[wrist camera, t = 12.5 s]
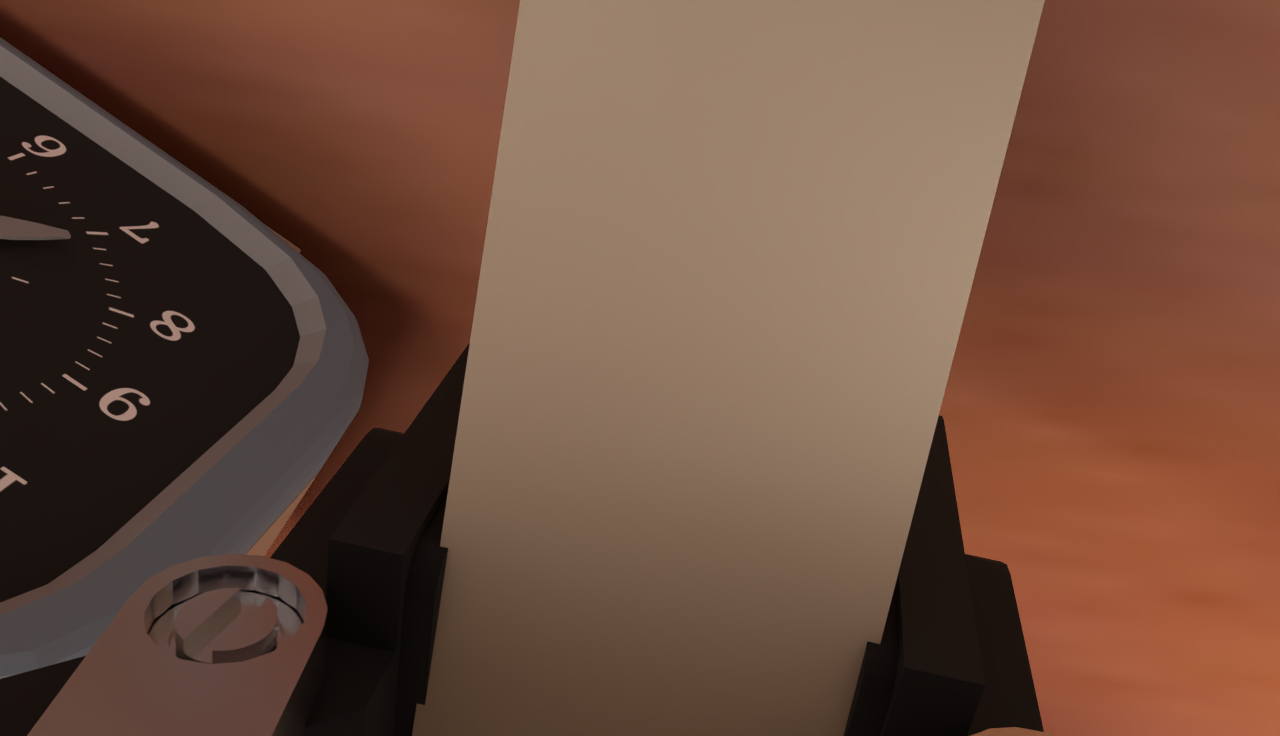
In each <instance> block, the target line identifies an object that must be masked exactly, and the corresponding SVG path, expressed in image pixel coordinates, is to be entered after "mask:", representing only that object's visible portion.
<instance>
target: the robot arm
mask: <svg viewBox="0 0 1280 736" xmlns="http://www.w3.org/2000/svg"><path fill="white" fill-rule="evenodd" d="M469 345H470V343H469V344H468V346H467V347H466V349H465V350H464V351H463V353H462V354H461V356H460V357H459V358H458V360H457V361H456V363H455V364H454V365H453V367H452V368H451V370H450V371H449V372H448V374H447V375H446V376H445V378H444V379H443V381H442V382H441V383H440V385H439V386H438V388H437V389H436V390H435V392H434V393H433V395H432V396H431V397H430V399H429V400H428V402H427V403H426V404H425V406H424V407H423V409H422V410H421V411H420V413H419V414H418V415H417V417H416V418H415V420H414V421H413V422H412V424H411V425H410V427H409V428H408V429H407V431H406V432H405V434H404V433H399V432H395V431H390V430H385V429H381V428H373V429H372V430H371V431H370V432H369V433H368V434H366V435H365V437H364V438H363V439H362V441H361V442H360V443H359V444H358V446H357V447H356V448H355V450H354V451H353V452H352V453H351V455H350V456H349V457H348V459H347V460H346V461H345V462H344V464H343V465H342V466H341V468H340V469H339V470H338V471H337V473H336V474H335V475H334V477H333V478H332V479H331V480H330V482H329V483H328V484H327V485H326V487H325V488H324V489H323V491H322V492H321V493H320V494H319V496H318V497H317V498H316V500H315V501H314V502H313V503H312V505H311V506H310V507H309V509H308V510H307V511H306V512H305V514H304V515H303V516H302V518H301V519H300V520H299V521H298V523H297V524H296V525H295V527H294V528H293V529H292V530H291V532H290V533H289V534H288V536H287V537H286V538H285V539H284V541H283V542H282V543H281V545H280V546H279V547H278V548H277V550H276V551H275V552H274V554H273V555H272V556H271V557H270V558H268V557H264V556H259V555H244V554H224V555H215V556H207V557H200V558H197V559H193V560H190V561H187V562H183V563H180V564H177V565H173V566H171V567H169V568H168V569H166V570H164V571H162V572H160V573H158V574H157V575H155V576H153V577H151V578H149V579H148V580H147V581H146V582H145V583H143V584H142V585H141V586H140V587H139V588H138V589H137V590H136V591H135V592H134V593H133V594H132V595H131V596H130V597H129V599H128V600H127V601H126V603H125V604H124V605H123V607H122V608H121V609H120V611H119V612H118V613H117V615H116V616H115V617H114V619H113V620H112V621H111V623H110V624H109V626H108V627H107V628H106V630H105V631H104V632H103V634H102V635H101V636H100V638H99V639H98V640H97V642H96V643H95V644H94V646H93V647H92V649H91V650H90V651H89V653H88V654H87V655H86V656H83V657H79V658H75V659H72V660H68V661H64V662H60V663H57V664H53V665H49V666H46V667H42V668H38V669H35V670H31V671H27V672H24V673H20V674H16V675H13V676H9V677H5V678H2V679H0V736H412V732H413V726H414V719H415V712H416V705H417V703H418V704H422V705H425V701H426V695H427V688H428V681H429V674H430V668H431V661H432V654H433V648H434V641H435V634H436V627H437V621H438V614H439V607H440V601H441V594H442V587H443V581H444V574H445V567H446V560H447V554H448V548H445V547H441V546H440V542H441V535H442V529H443V522H444V515H445V508H446V501H447V495H448V488H449V481H450V474H451V467H452V461H453V454H454V447H455V440H456V433H457V427H458V420H459V413H460V406H461V399H462V393H463V386H464V379H465V372H466V365H467V359H468V352H469ZM844 736H1054V735H1051V734H1049V733H1046V732H1044V730H1043V726H1042V721H1041V716H1040V712H1039V707H1038V702H1037V698H1036V693H1035V688H1034V683H1033V679H1032V674H1031V669H1030V665H1029V660H1028V655H1027V650H1026V646H1025V641H1024V636H1023V632H1022V627H1021V622H1020V618H1019V613H1018V608H1017V603H1016V599H1015V594H1014V589H1013V585H1012V580H1011V575H1010V572H1009V570H1008V567H1007V565H1006V564H1004V563H1003V562H1000V561H995V560H991V559H986V558H981V557H977V556H972V555H967V554H965V553H964V547H963V540H962V534H961V527H960V521H959V515H958V508H957V502H956V495H955V489H954V483H953V476H952V470H951V464H950V457H949V451H948V444H947V438H946V432H945V425H944V420H943V417H942V416H938V420H937V424H936V428H935V432H934V436H933V440H932V443H931V447H930V451H929V455H928V459H927V463H926V467H925V471H924V475H923V479H922V483H921V486H920V490H919V494H918V498H917V502H916V506H915V510H914V514H913V518H912V522H911V526H910V529H909V533H908V537H907V541H906V545H905V549H904V553H903V557H902V561H901V565H900V568H899V572H898V576H897V580H896V584H895V588H894V592H893V596H892V600H891V604H890V608H889V611H888V615H887V619H886V623H885V627H884V631H883V635H882V639H881V643H880V644H877V643H873V642H868V641H867V645H866V649H865V653H864V657H863V661H862V665H861V669H860V673H859V677H858V681H857V685H856V689H855V693H854V697H853V701H852V705H851V709H850V712H849V716H848V720H847V724H846V728H845V732H844Z"/></svg>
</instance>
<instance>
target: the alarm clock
mask: <svg viewBox="0 0 1280 736" xmlns="http://www.w3.org/2000/svg"><path fill="white" fill-rule="evenodd" d="M300 251H301V249H299V248H298V247H296V246H295V245H294V244H292V243H291V242H289V241H288V240H286V239H285V238H284V237H282V236H281V235H279V234H278V233H276V232H275V231H273V230H272V229H271V228H269V227H268V226H266V225H265V224H263V223H262V222H261V221H260V220H259V219H257V218H256V217H255V216H254V215H253V214H251V213H250V212H249V211H248V210H247V209H245V208H244V207H243V206H242V205H240V204H239V203H237V202H236V201H235V200H233V199H232V198H230V197H229V196H227V195H226V194H224V193H223V192H222V191H220V190H219V189H217V188H216V187H214V186H213V185H212V184H210V183H209V182H207V181H206V180H204V179H203V178H201V177H200V176H199V175H197V174H196V173H194V172H193V171H191V170H190V169H189V168H187V167H186V166H184V165H183V164H181V163H180V162H178V161H177V160H176V159H174V158H173V157H171V156H170V155H168V154H167V153H166V152H164V151H163V150H161V149H160V148H158V147H157V146H155V145H154V144H153V143H151V142H150V141H148V140H147V139H145V138H144V137H143V136H141V135H140V134H138V133H137V132H135V131H134V130H132V129H131V128H130V127H128V126H127V125H125V124H124V123H122V122H121V121H120V120H118V119H117V118H115V117H114V116H112V115H111V114H109V113H108V112H107V111H105V110H104V109H102V108H101V107H99V106H98V105H97V104H95V103H94V102H92V101H91V100H89V99H88V98H87V97H85V96H84V95H82V94H81V93H79V92H78V91H76V90H75V89H74V88H72V87H71V86H69V85H68V84H66V83H65V82H64V81H62V80H61V79H59V78H58V77H56V76H55V75H54V74H52V73H51V72H49V71H48V70H46V69H45V68H44V67H42V66H41V65H39V64H38V63H36V62H35V61H34V60H32V59H31V58H29V57H28V56H26V55H25V54H23V53H22V52H21V51H19V50H18V49H16V48H15V47H13V46H12V45H11V44H9V43H8V42H6V41H5V40H3V39H2V38H1V37H0V679H2V678H5V677H9V676H13V675H16V674H20V673H24V672H27V671H31V670H35V669H38V668H42V667H46V666H49V665H53V664H57V663H60V662H64V661H68V660H72V659H75V658H79V657H83V656H86V655H87V654H88V653H89V651H90V650H91V649H92V647H93V646H94V644H95V643H96V642H97V640H98V639H99V638H100V636H101V635H102V634H103V632H104V631H105V630H106V628H107V627H108V626H109V624H110V623H111V621H112V620H113V619H114V617H115V616H116V615H117V613H118V612H119V611H120V609H121V608H122V607H123V605H124V604H125V603H126V601H127V600H128V599H129V597H130V596H131V595H132V594H133V593H134V592H135V591H136V590H137V589H138V588H139V587H140V586H141V585H142V584H143V583H145V582H146V581H147V580H148V579H149V578H151V577H153V576H155V575H157V574H158V573H160V572H162V571H164V570H166V569H168V568H169V567H171V566H173V565H177V564H180V563H183V562H187V561H190V560H193V559H197V558H200V557H207V556H215V555H224V554H244V555H259V556H265V554H266V553H267V551H268V550H269V548H270V547H271V545H272V544H273V542H274V540H275V539H276V537H277V536H278V534H279V533H280V531H281V530H282V528H283V527H284V525H285V524H286V522H287V520H288V519H289V517H290V516H291V514H292V513H293V511H294V510H295V508H296V507H297V505H298V504H299V502H300V500H301V499H302V497H303V496H304V494H305V493H306V491H307V490H308V488H309V487H310V485H311V483H312V482H313V480H314V479H315V477H316V476H317V474H318V473H319V471H320V470H321V468H322V467H323V465H324V463H325V462H326V460H327V459H328V457H329V456H330V454H331V453H332V451H333V450H334V448H335V446H336V445H337V443H338V442H339V440H340V439H341V437H342V436H343V434H344V433H345V431H346V429H347V428H348V426H349V425H350V423H351V422H352V420H353V419H354V417H355V415H356V414H357V412H358V411H359V409H360V406H361V402H362V398H363V392H364V387H365V381H366V376H367V370H368V364H369V359H368V355H367V352H366V348H365V345H364V342H363V338H362V335H361V331H360V328H359V324H358V322H357V320H356V318H355V316H354V315H353V313H352V312H351V310H350V309H349V308H348V306H347V305H346V303H345V302H344V301H343V299H342V298H341V296H340V295H339V294H338V292H337V291H336V289H335V288H334V286H333V285H332V284H331V282H330V281H329V279H328V278H327V277H326V275H325V274H324V273H323V272H321V271H320V270H319V269H318V268H317V267H315V266H314V265H313V264H312V263H311V262H309V261H308V260H307V259H306V258H305V257H303V256H302V255H301V254H300Z"/></svg>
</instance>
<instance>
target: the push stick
mask: <svg viewBox="0 0 1280 736" xmlns="http://www.w3.org/2000/svg"><path fill="white" fill-rule="evenodd" d="M1044 2H1045V0H520V5H519V12H518V19H517V26H516V33H515V39H514V46H513V53H512V60H511V67H510V73H509V80H508V87H507V94H506V100H505V107H504V114H503V121H502V128H501V134H500V141H499V148H498V155H497V162H496V168H495V175H494V182H493V189H492V196H491V202H490V209H489V216H488V223H487V230H486V236H485V243H484V250H483V257H482V264H481V270H480V277H479V284H478V291H477V298H476V304H475V311H474V318H473V325H472V332H471V338H470V345H469V352H468V359H467V365H466V372H465V379H464V386H463V393H462V399H461V406H460V413H459V420H458V427H457V433H456V440H455V447H454V454H453V461H452V467H451V474H450V481H449V488H448V495H447V501H446V508H445V515H444V522H443V529H442V535H441V542H440V546H441V547H445V548H448V554H447V560H446V567H445V574H444V581H443V587H442V594H441V601H440V607H439V614H438V621H437V627H436V634H435V641H434V648H433V654H432V661H431V668H430V674H429V681H428V688H427V695H426V701H425V705H422V704H418V703H417V705H416V712H415V719H414V726H413V732H412V736H844V732H845V728H846V724H847V720H848V716H849V712H850V709H851V705H852V701H853V697H854V693H855V689H856V685H857V681H858V677H859V673H860V669H861V665H862V661H863V657H864V653H865V649H866V645H867V641H868V642H873V643H877V644H880V643H881V639H882V635H883V631H884V627H885V623H886V619H887V615H888V611H889V608H890V604H891V600H892V596H893V592H894V588H895V584H896V580H897V576H898V572H899V568H900V565H901V561H902V557H903V553H904V549H905V545H906V541H907V537H908V533H909V529H910V526H911V522H912V518H913V514H914V510H915V506H916V502H917V498H918V494H919V490H920V486H921V483H922V479H923V475H924V471H925V467H926V463H927V459H928V455H929V451H930V447H931V443H932V440H933V436H934V432H935V428H936V424H937V420H938V416H939V412H940V408H941V404H942V400H943V397H944V393H945V389H946V385H947V381H948V377H949V373H950V369H951V365H952V361H953V357H954V354H955V350H956V346H957V342H958V338H959V334H960V330H961V326H962V322H963V318H964V314H965V311H966V307H967V303H968V299H969V295H970V291H971V287H972V283H973V279H974V275H975V271H976V268H977V264H978V260H979V256H980V252H981V248H982V244H983V240H984V236H985V232H986V228H987V225H988V221H989V217H990V213H991V209H992V205H993V201H994V197H995V193H996V189H997V185H998V182H999V178H1000V174H1001V170H1002V166H1003V162H1004V158H1005V154H1006V150H1007V146H1008V142H1009V139H1010V135H1011V131H1012V127H1013V123H1014V119H1015V115H1016V111H1017V107H1018V103H1019V100H1020V96H1021V92H1022V88H1023V84H1024V80H1025V76H1026V72H1027V68H1028V64H1029V60H1030V57H1031V53H1032V49H1033V45H1034V41H1035V37H1036V33H1037V29H1038V25H1039V21H1040V17H1041V14H1042V10H1043V6H1044Z"/></svg>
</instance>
